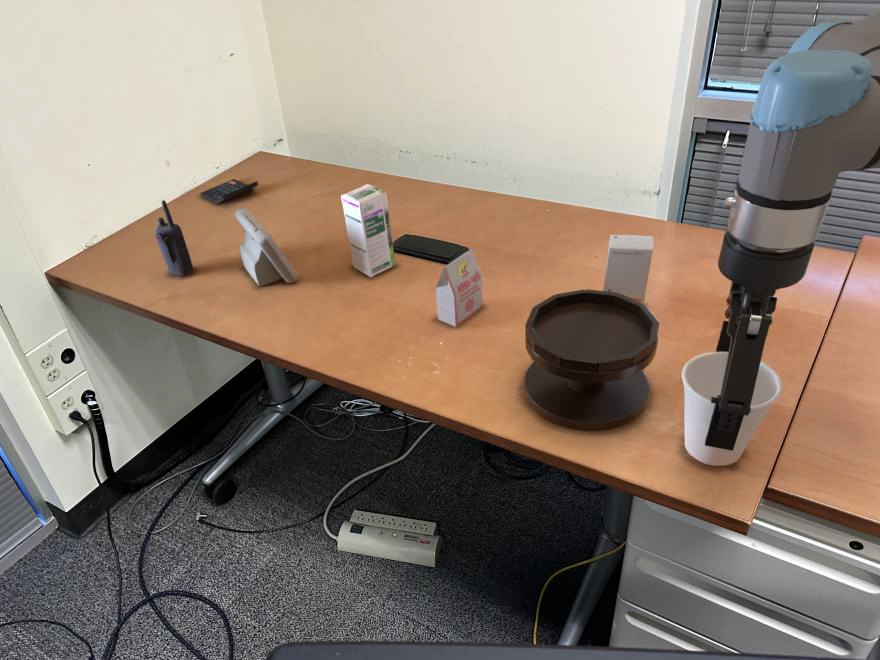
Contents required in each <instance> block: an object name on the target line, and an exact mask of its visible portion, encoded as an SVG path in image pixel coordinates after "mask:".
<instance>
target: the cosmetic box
mask: <svg viewBox="0 0 880 660" xmlns="http://www.w3.org/2000/svg"><path fill="white" fill-rule="evenodd" d="M654 238H655V237H654V236H653V235H637V234H610V235H609V240H608V241H609V242H608V249H607V259H606V265H605V266H606V267H605V274H604V283H603V288H602V289H603V290H602V291H607V292H617V294H618V293H620V294H622V295H624V296H627V297H629V298H631V299H634V300H636V301H638V302H640V303H643V304H644V305H645V300H646V293H647V292H646V291H647V287H648V281H649V277H650V276H649V275H650V270H651V269H650V268H651V264H652V259H653V258H652V257H653V251H654V242H655V241H654Z"/></svg>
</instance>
